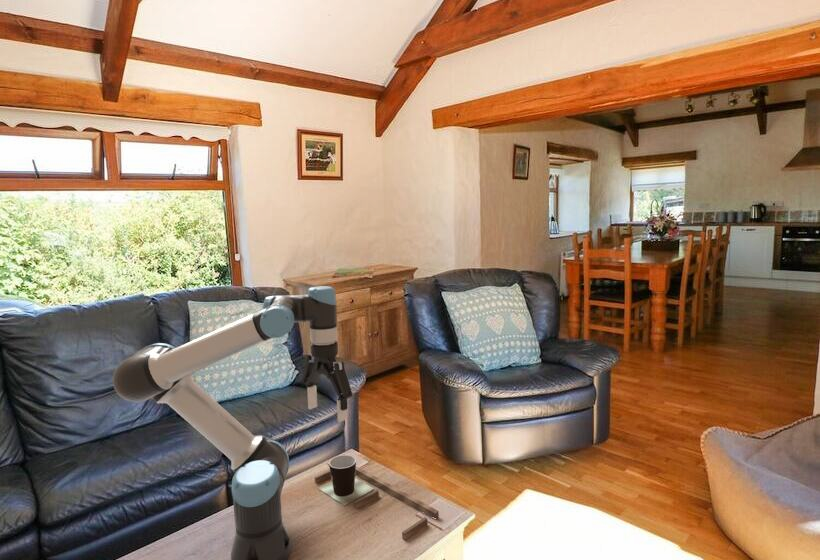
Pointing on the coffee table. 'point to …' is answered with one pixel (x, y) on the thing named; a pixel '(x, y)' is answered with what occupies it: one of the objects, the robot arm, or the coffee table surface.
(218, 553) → the coffee table surface
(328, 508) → the coffee table surface
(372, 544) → the coffee table surface
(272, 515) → the robot arm
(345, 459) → the coffee mug
